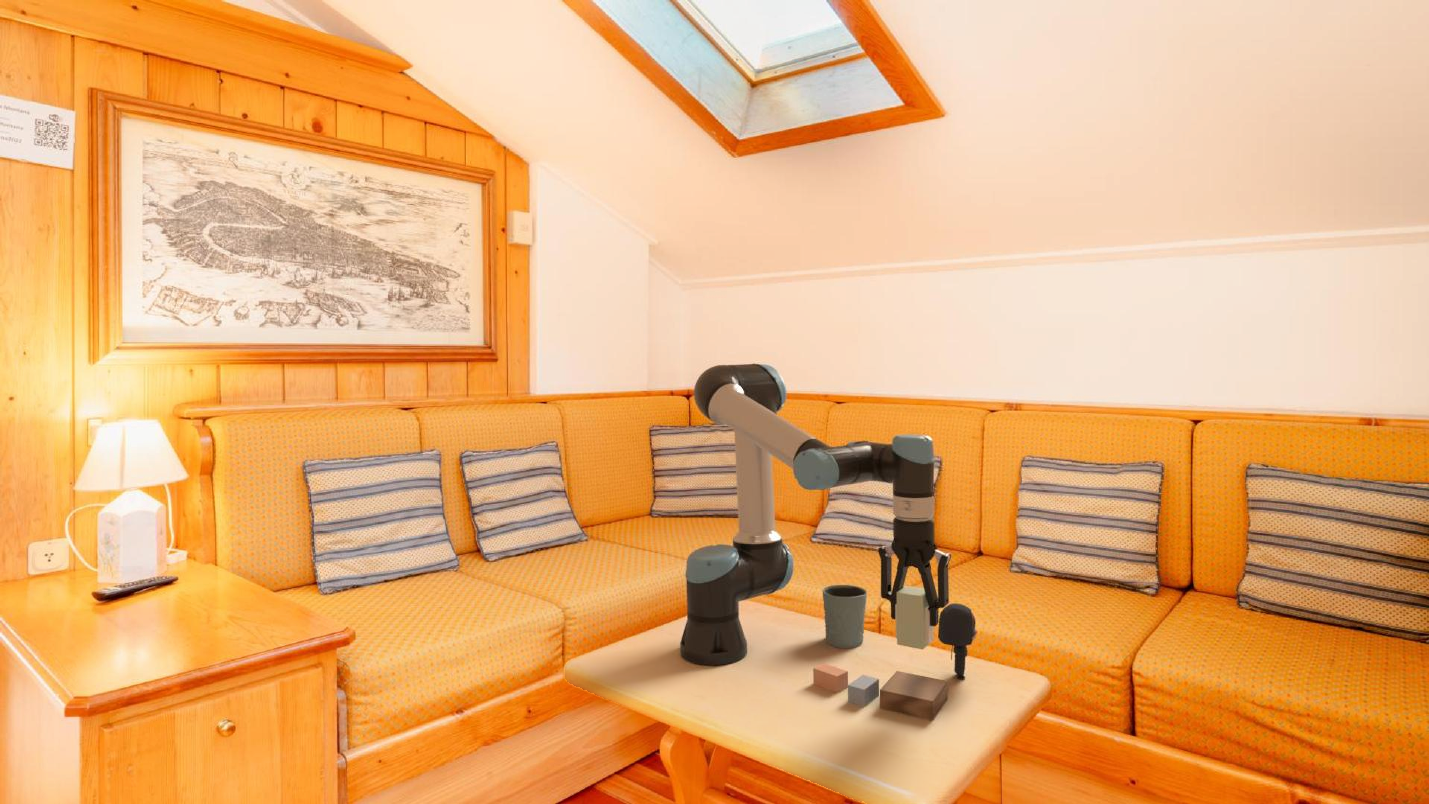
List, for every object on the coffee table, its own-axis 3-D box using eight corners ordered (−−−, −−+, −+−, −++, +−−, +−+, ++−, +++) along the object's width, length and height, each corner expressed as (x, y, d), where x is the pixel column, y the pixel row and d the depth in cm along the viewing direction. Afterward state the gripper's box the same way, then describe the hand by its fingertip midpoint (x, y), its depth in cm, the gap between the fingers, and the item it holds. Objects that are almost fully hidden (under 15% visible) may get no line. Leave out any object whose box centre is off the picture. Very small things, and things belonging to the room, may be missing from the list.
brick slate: (864, 707, 148) (864, 689, 147) (848, 702, 150) (847, 685, 150) (879, 696, 152) (878, 679, 152) (862, 692, 154) (862, 674, 154)
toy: (980, 686, 155) (980, 612, 155) (939, 684, 157) (939, 610, 156) (974, 668, 164) (974, 598, 163) (936, 666, 166) (936, 597, 165)
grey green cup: (816, 644, 180) (815, 593, 179) (833, 630, 188) (832, 581, 188) (857, 652, 175) (857, 599, 174) (873, 638, 183) (873, 587, 182)
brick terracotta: (813, 685, 158) (813, 668, 158) (824, 679, 161) (823, 663, 160) (837, 693, 154) (837, 676, 154) (848, 688, 156) (847, 671, 156)
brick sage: (897, 644, 147) (896, 592, 146) (906, 636, 151) (906, 585, 151) (922, 649, 144) (922, 596, 144) (932, 641, 148) (931, 589, 148)
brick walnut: (879, 710, 147) (879, 689, 147) (896, 690, 155) (896, 670, 155) (933, 722, 142) (933, 701, 141) (947, 701, 150) (947, 681, 150)
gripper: (860, 516, 148) (862, 636, 150) (955, 526, 138) (956, 654, 139) (876, 509, 154) (877, 625, 156) (968, 518, 144) (968, 641, 146)
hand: (914, 638), depth 148 cm, fingers closed on brick sage, 5 cm apart
